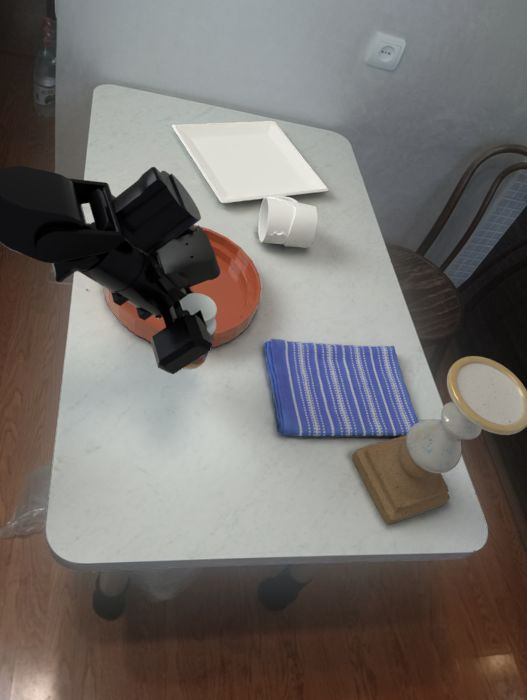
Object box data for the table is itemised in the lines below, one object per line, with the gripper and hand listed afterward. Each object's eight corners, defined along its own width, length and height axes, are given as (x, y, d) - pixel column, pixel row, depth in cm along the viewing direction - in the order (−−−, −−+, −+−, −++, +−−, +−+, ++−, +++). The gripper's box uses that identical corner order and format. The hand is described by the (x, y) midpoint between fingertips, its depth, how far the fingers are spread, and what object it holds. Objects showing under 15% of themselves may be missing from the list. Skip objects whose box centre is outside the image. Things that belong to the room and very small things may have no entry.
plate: (219, 210, 105) (221, 202, 104) (170, 132, 117) (171, 123, 116) (326, 197, 117) (330, 189, 116) (272, 127, 129) (274, 119, 128)
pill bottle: (168, 372, 72) (178, 324, 64) (162, 338, 75) (172, 289, 67) (209, 370, 73) (224, 324, 66) (202, 337, 77) (216, 289, 69)
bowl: (99, 347, 79) (100, 330, 76) (107, 232, 94) (107, 214, 91) (264, 355, 86) (270, 340, 83) (246, 246, 101) (251, 230, 98)
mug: (307, 259, 103) (320, 227, 97) (259, 252, 101) (270, 219, 95) (300, 218, 110) (312, 186, 104) (255, 211, 108) (265, 178, 102)
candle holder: (408, 438, 83) (498, 345, 65) (446, 503, 78) (555, 422, 60) (349, 455, 79) (428, 360, 61) (385, 526, 73) (484, 445, 55)
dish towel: (259, 344, 87) (263, 333, 85) (390, 350, 94) (397, 340, 92) (274, 439, 77) (280, 430, 75) (420, 439, 84) (428, 430, 82)
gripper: (209, 291, 50) (281, 347, 63) (160, 166, 60) (232, 238, 72) (119, 352, 53) (205, 394, 66) (86, 224, 62) (167, 283, 75)
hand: (204, 322), depth 70 cm, fingers closed on pill bottle, 6 cm apart
